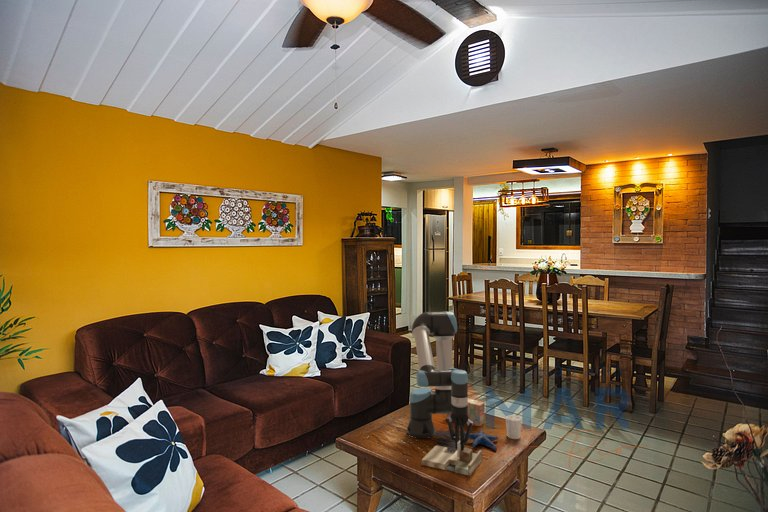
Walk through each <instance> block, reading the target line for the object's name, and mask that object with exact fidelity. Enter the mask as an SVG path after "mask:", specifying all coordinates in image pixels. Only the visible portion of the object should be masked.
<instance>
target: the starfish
mask: <svg viewBox="0 0 768 512" xmlns="http://www.w3.org/2000/svg"><path fill="white" fill-rule="evenodd" d="M465 435H466V432H465ZM469 439H470V440H473V441H472V447H477V445H481V446H482V445H483V446H486V447H487V448H490V449H492V450H493V451H495V452H496V451H497V450H498V448H497V445H496V444H495V443H493V441H497V440H498V439H499V436H497V435H489V434H487V433H486V434H485V432H484V430H480V431H479V432H478V433H472V432H470V435H469Z"/></svg>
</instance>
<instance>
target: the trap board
mask: <svg viewBox="0 0 768 512" xmlns="http://www.w3.org/2000/svg"><path fill="white" fill-rule="evenodd" d="M448 449H449V448H448V447H446V446H442V445H437V444H436V445H435V446H433V448H432V449H431V450H429V452H428V453H426V454H425V456H423V458H422V459H421V465H422V466H427V467H430V468H435V469H439V470H442V471H443V470H444V471H448V472H452V473H457V474H459V475H460V474H461V475H465V476H469V477H471V476H472V475H473V473H474V472H475V470H476V469H477V468H478V466H479V465H480V464H481V462H482V460H483V451H482V450H481V449H479V450H478V452H477V453H475V452H472V460H471V462H470V463H466V462H461V461H460V457H457V450H455V452H454V453H453V452H449V451H448Z"/></svg>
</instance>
